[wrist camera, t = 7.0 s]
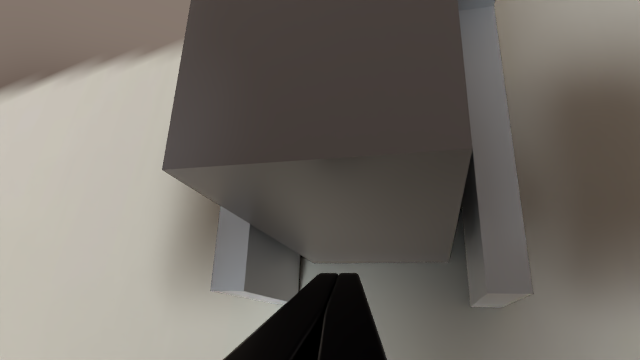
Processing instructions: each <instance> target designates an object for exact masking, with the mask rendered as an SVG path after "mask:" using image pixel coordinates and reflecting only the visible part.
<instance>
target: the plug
mask: <svg viewBox="0 0 640 360" xmlns="http://www.w3.org/2000/svg"><path fill="white" fill-rule="evenodd" d="M471 153H472V139H471V129H470V119H469V109H468V99H467V89H466V79H465V69H464V59H463V49H462V39H461V29H460V19H459V10H458V0H191V4H190V10H189V15H188V22H187V27H186V33H185V39H184V45H183V50H182V56H181V62H180V68H179V74H178V80H177V86H176V91H175V97H174V103H173V109H172V115H171V121H170V127H169V132H168V138H167V144H166V150H165V156H164V162H163V167H162V170H163V171H165V172H166V173H168V174H170V175H171V176H173V177H174V178H176V179H178V180H179V181H181V182H183V183H184V184H186V185H187V186H189V187H191V188H192V189H194V190H196V191H197V192H199V193H200V194H202V195H204V196H205V197H207V198H209V199H210V200H212V201H214V202H215V203H217V204H218V205H220V206H222V207H223V208H225V209H227V210H228V211H230V212H231V213H233V214H235V215H236V216H238V217H240V218H241V219H243V220H244V221H246V222H248V223H249V224H251V225H253V226H254V227H256V228H257V229H259V230H261V231H262V232H264V233H266V234H267V235H269V236H270V237H272V238H274V239H275V240H277V241H279V242H280V243H282V244H284V245H285V246H287V247H288V248H290V249H292V250H293V251H295V252H297V253H298V254H300V255H301V256H303V257H305V258H306V259H308V260H310V261H311V262H313V263H400V262H449V260H450V255H451V250H452V245H453V241H454V236H455V231H456V226H457V221H458V216H459V211H460V207H461V202H462V197H463V192H464V187H465V182H466V177H467V173H468V168H469V163H470V158H471Z"/></svg>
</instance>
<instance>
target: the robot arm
mask: <svg viewBox="0 0 640 360" xmlns="http://www.w3.org/2000/svg"><path fill="white" fill-rule="evenodd" d="M223 360H387V358H386V355H385V352H384V349H383V346H382V343H381V340H380V337H379V334H378V331H377V328H376V325H375V322H374V319H373V316H372V313H371V310H370V307H369V304H368V301H367V298H366V295H365V292H364V289H363V286H362V283H361V281H360V278H359V275H358V274H357V273H341V274H339V275H338V274H336V273H320V274H318V275H317V276H316V277H315V278H314V279H313V280H311V281H310V282H309V283H308V284H307V285H306V286H305V287H304V288H302V289H301V290H300V291H299V292H298V293H297V294H296V295H295V296H294V297H292V298H291V299H290V300H289V301H288V302H287V303H286V304H285V305H284V306H282V307H281V308H280V309H279V310H278V311H277V312H276V313H275V314H273V315H272V316H271V317H270V318H269V319H268V320H267V321H266V322H265V323H263V324H262V325H261V326H260V327H259V328H258V329H257V330H256V331H254V332H253V333H252V334H251V335H250V336H249V337H248V338H247V339H246V340H244V341H243V342H242V343H241V344H240V345H239V346H238V347H237V348H235V349H234V350H233V351H232V352H231V353H230V354H229V355H228V356H227V357H225V358H224V359H223Z"/></svg>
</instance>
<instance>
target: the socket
mask: <svg viewBox="0 0 640 360" xmlns="http://www.w3.org/2000/svg"><path fill="white" fill-rule="evenodd" d="M494 3H495V0H458V10H459V19H460V29H461V39H462V49H463V59H464V69H465V79H466V89H467V99H468V109H469V119H470V129H471V139H472V153H471V158H470V163H469V168H468V173H467V177H466V182H465V187H464V192H463V197H462V202H461V204H462V216H463V227H464V239H465V250H466V262H467V274H468V285H469V297H470V307H499V308H502V307H504V306H506V305H509V304H511V303H513V302H516V301H518V300H520V299H523V298H525V297H527V296H530V295H532V294H533V287H532V280H531V272H530V265H529V258H528V250H527V243H526V236H525V228H524V221H523V214H522V207H521V199H520V192H519V185H518V177H517V170H516V163H515V155H514V148H513V141H512V133H511V126H510V119H509V111H508V104H507V97H506V90H505V82H504V75H503V68H502V60H501V53H500V46H499V38H498V31H497V24H496V16H495V9H494ZM299 269H300V254H298V253H297V252H295V251H293V250H292V249H290V248H288V247H287V246H285V245H284V244H282V243H280V242H279V241H277V240H275V239H274V238H272V237H270V236H269V235H267V234H266V233H264V232H262V231H261V230H259V229H257V228H256V227H254V226H253V225H251V224H249V223H248V222H246V221H244V220H243V219H241V218H240V217H238V216H236V215H235V214H233V213H231V212H230V211H228V210H227V209H225V208H223V207H222V206H220V213H219V221H218V230H217V239H216V247H215V256H214V264H213V273H212V281H211V290H210V291H214V292H218V293H223V294H228V295H233V296H238V297H243V298H248V299H252V300H257V301H262V302H267V303H272V304H286V303H287V302H288V301H289V300H290V299H291V298H292V297H294V296H295V295H296V294H297V293H298V290H299Z"/></svg>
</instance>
